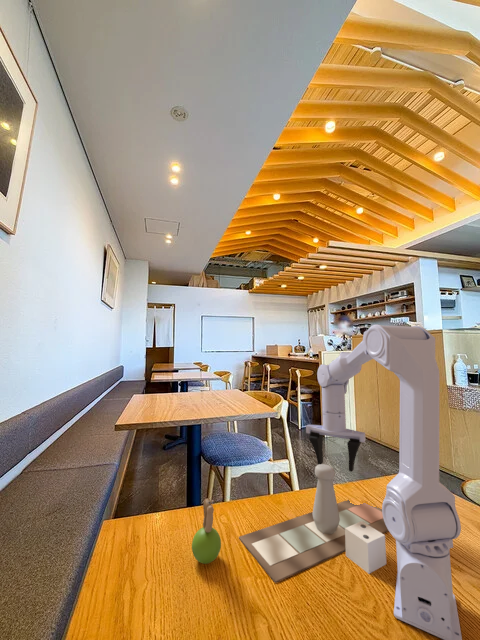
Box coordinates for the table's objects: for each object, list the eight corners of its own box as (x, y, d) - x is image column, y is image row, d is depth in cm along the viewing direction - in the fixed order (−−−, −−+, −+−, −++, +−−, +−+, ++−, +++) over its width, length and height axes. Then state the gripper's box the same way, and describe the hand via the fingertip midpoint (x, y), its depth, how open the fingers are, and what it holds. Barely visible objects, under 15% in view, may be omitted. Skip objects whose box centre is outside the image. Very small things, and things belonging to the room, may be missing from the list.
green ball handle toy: (193, 578, 47) (195, 503, 49) (190, 553, 53) (192, 486, 55) (224, 572, 49) (225, 499, 50) (217, 548, 55) (219, 483, 56)
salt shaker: (316, 517, 65) (315, 459, 66) (342, 525, 62) (340, 464, 64) (309, 531, 60) (308, 467, 62) (336, 540, 57) (334, 473, 59)
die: (368, 574, 49) (367, 542, 49) (345, 556, 53) (344, 527, 54) (386, 564, 51) (384, 534, 52) (363, 548, 55) (361, 520, 56)
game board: (275, 583, 46) (275, 580, 46) (238, 538, 58) (238, 536, 58) (405, 523, 64) (405, 521, 64) (357, 497, 75) (357, 496, 75)
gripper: (366, 412, 71) (368, 467, 70) (311, 406, 79) (312, 456, 77) (361, 417, 65) (364, 477, 64) (302, 410, 73) (303, 464, 71)
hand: (335, 466), depth 70 cm, fingers open, 7 cm apart
